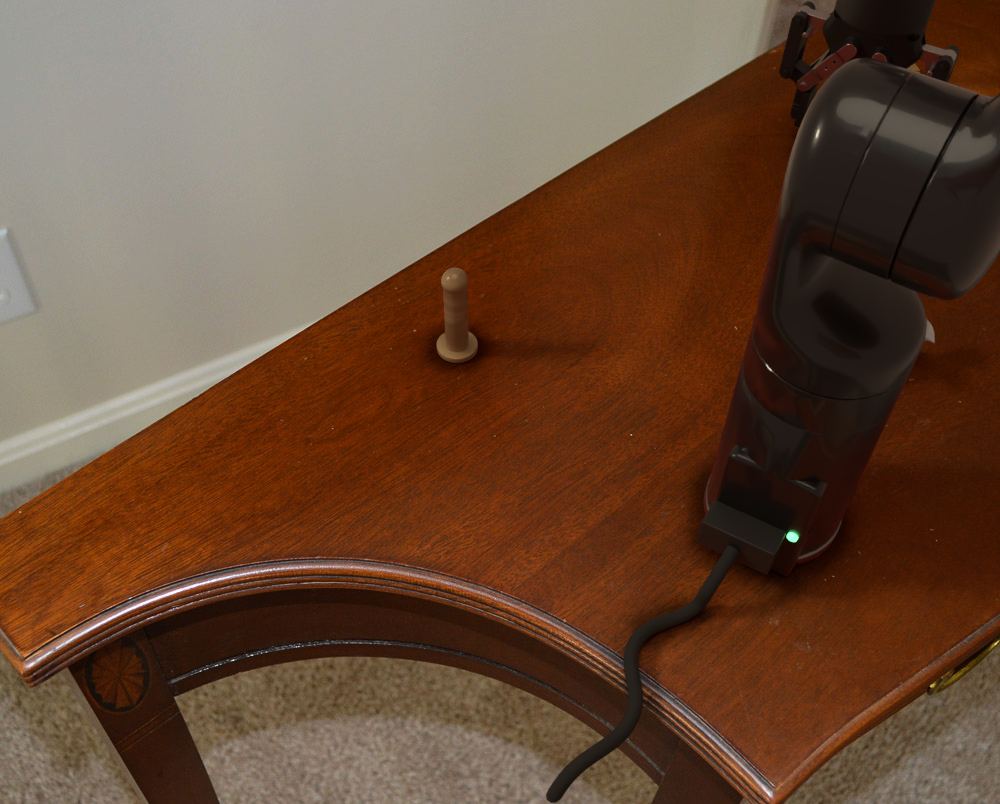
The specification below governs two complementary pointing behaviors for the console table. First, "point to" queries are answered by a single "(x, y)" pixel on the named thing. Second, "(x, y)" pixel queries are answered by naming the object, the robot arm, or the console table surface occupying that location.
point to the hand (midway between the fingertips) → (843, 136)
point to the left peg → (456, 319)
